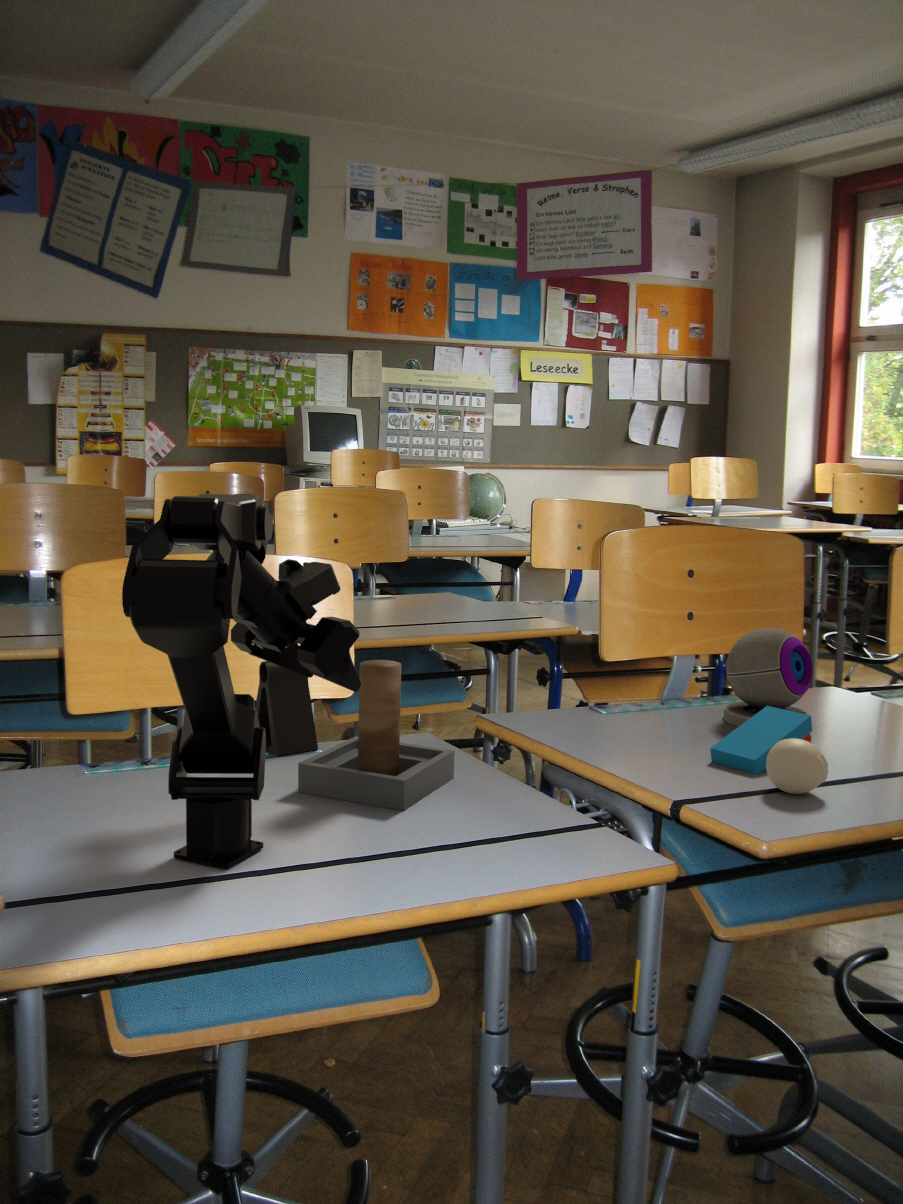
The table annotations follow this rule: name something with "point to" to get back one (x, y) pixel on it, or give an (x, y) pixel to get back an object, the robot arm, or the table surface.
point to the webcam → (767, 673)
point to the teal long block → (760, 738)
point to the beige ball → (796, 766)
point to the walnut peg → (379, 717)
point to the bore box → (376, 775)
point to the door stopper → (285, 710)
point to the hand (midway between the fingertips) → (334, 681)
